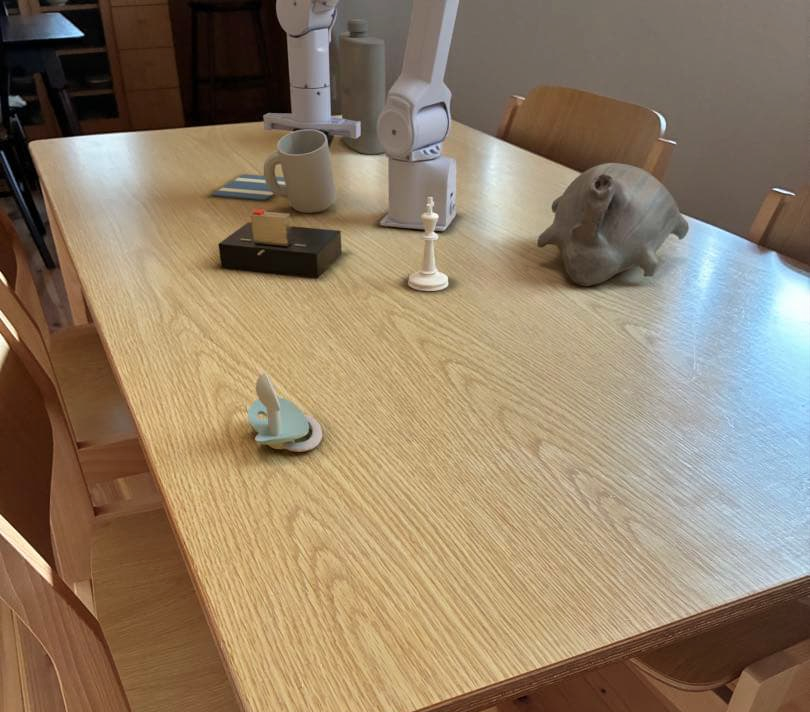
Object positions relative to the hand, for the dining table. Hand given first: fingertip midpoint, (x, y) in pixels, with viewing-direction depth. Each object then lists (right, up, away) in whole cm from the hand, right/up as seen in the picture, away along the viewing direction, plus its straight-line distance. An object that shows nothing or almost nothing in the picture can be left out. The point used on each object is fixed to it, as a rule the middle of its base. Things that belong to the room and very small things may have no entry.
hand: (314, 184), depth 124 cm
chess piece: (+17, -24, -26) cm, 39 cm away
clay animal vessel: (+39, -19, -20) cm, 48 cm away
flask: (+6, +20, +28) cm, 35 cm away
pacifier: (+4, -46, -54) cm, 71 cm away
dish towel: (-10, +2, +5) cm, 12 cm away
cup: (-1, -4, -3) cm, 5 cm away
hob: (-2, -20, -21) cm, 29 cm away
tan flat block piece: (-3, -18, -24) cm, 30 cm away
